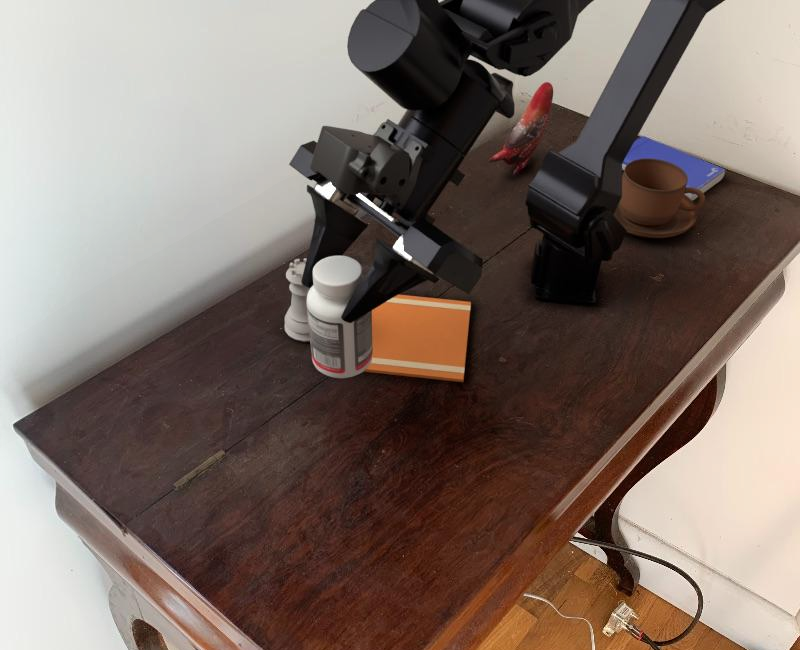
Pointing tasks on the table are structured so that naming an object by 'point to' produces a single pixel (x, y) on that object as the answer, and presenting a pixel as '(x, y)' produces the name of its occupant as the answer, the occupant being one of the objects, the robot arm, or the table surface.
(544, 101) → the decorative bird figurine
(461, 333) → the towel
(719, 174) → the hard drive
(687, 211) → the cup and saucer
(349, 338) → the pill bottle
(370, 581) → the table surface
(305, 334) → the rook chess piece
